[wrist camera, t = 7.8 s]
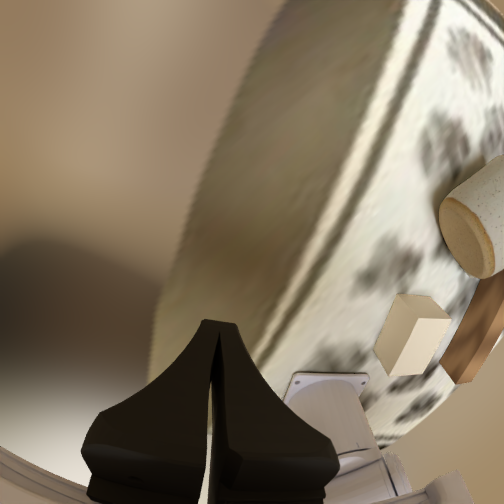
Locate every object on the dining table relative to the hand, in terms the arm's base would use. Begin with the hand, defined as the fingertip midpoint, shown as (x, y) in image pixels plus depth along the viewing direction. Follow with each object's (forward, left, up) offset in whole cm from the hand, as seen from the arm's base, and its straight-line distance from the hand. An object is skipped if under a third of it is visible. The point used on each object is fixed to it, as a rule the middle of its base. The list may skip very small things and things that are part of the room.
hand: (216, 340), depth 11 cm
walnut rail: (+3, -27, -10) cm, 29 cm away
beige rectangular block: (-4, -17, -10) cm, 20 cm away
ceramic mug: (+7, -20, -10) cm, 24 cm away
